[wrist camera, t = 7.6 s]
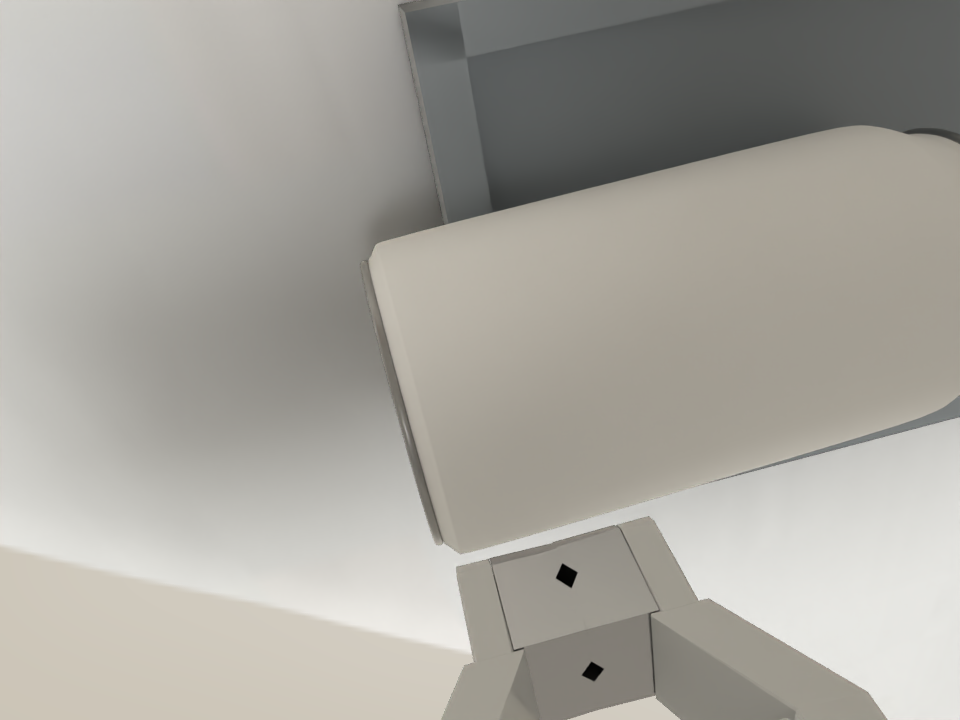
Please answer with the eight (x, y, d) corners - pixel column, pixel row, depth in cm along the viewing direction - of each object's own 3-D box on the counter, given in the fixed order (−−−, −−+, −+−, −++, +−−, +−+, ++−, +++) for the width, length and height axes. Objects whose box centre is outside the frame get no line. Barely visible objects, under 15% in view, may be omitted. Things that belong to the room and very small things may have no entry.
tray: (1112, -147, 16) (1180, -153, 15) (980, 375, 23) (1018, 401, 22) (397, 4, 15) (405, 13, 14) (501, 499, 22) (512, 534, 21)
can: (438, 539, 18) (885, 407, 19) (444, 592, 11) (1122, 387, 12) (370, 287, 18) (807, 175, 19) (338, 199, 12) (993, 40, 13)
